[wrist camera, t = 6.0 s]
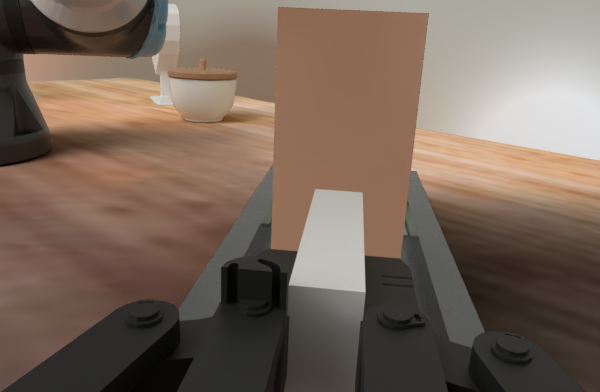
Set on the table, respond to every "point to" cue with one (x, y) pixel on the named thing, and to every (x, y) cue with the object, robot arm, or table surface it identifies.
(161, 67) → the heart sculpture
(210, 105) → the lidded jar
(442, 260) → the grey tray
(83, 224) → the table surface
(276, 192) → the terracotta block
